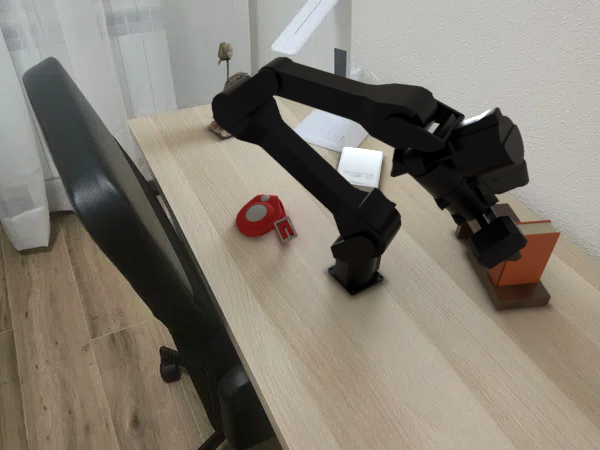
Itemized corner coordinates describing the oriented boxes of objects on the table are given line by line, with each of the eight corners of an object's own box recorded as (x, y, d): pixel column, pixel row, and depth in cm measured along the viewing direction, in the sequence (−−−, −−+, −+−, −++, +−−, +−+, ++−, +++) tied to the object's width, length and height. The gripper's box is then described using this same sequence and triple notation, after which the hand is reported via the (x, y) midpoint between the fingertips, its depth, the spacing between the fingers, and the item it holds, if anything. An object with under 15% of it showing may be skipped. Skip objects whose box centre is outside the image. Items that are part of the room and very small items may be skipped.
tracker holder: (225, 229, 92) (246, 185, 98) (234, 245, 95) (254, 202, 101) (291, 235, 87) (309, 189, 93) (298, 252, 91) (315, 206, 96)
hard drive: (382, 158, 112) (376, 194, 103) (342, 152, 113) (333, 188, 104) (383, 151, 111) (377, 187, 102) (343, 146, 112) (334, 181, 103)
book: (495, 286, 83) (514, 237, 77) (487, 272, 85) (505, 223, 79) (538, 282, 84) (560, 233, 78) (529, 268, 86) (550, 219, 80)
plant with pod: (264, 127, 120) (263, 37, 107) (218, 142, 115) (211, 49, 102) (245, 111, 125) (241, 24, 112) (200, 125, 120) (191, 35, 107)
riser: (497, 310, 82) (508, 282, 78) (454, 233, 95) (462, 206, 91) (546, 305, 83) (560, 277, 79) (498, 229, 96) (507, 202, 92)
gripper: (535, 181, 60) (591, 248, 68) (471, 99, 74) (524, 163, 82) (451, 240, 64) (513, 296, 72) (405, 152, 78) (462, 208, 86)
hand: (504, 236), depth 78 cm, fingers open, 9 cm apart
